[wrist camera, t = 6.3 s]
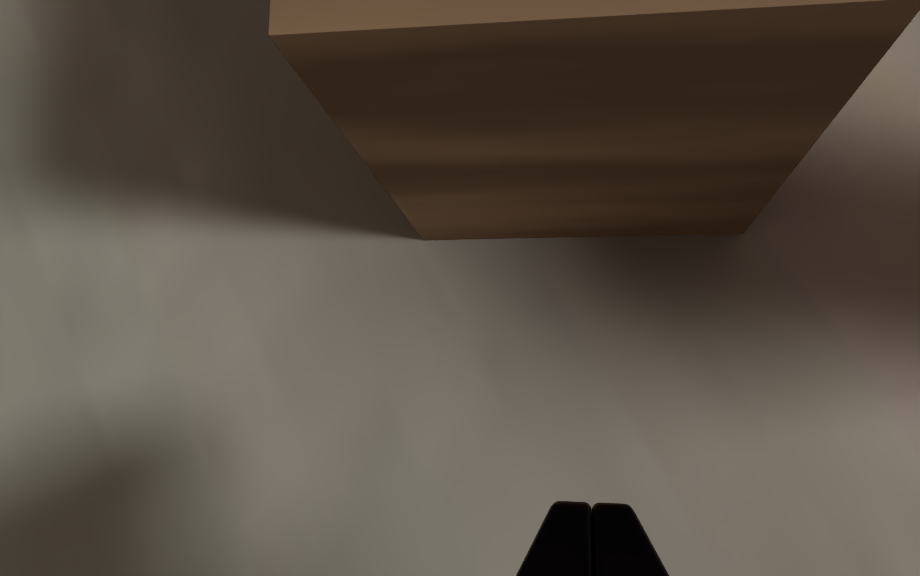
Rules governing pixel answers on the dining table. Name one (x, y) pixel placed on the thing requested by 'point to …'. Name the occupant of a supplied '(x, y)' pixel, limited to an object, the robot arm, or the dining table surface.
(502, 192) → the wooden block
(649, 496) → the dining table surface
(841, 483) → the dining table surface
